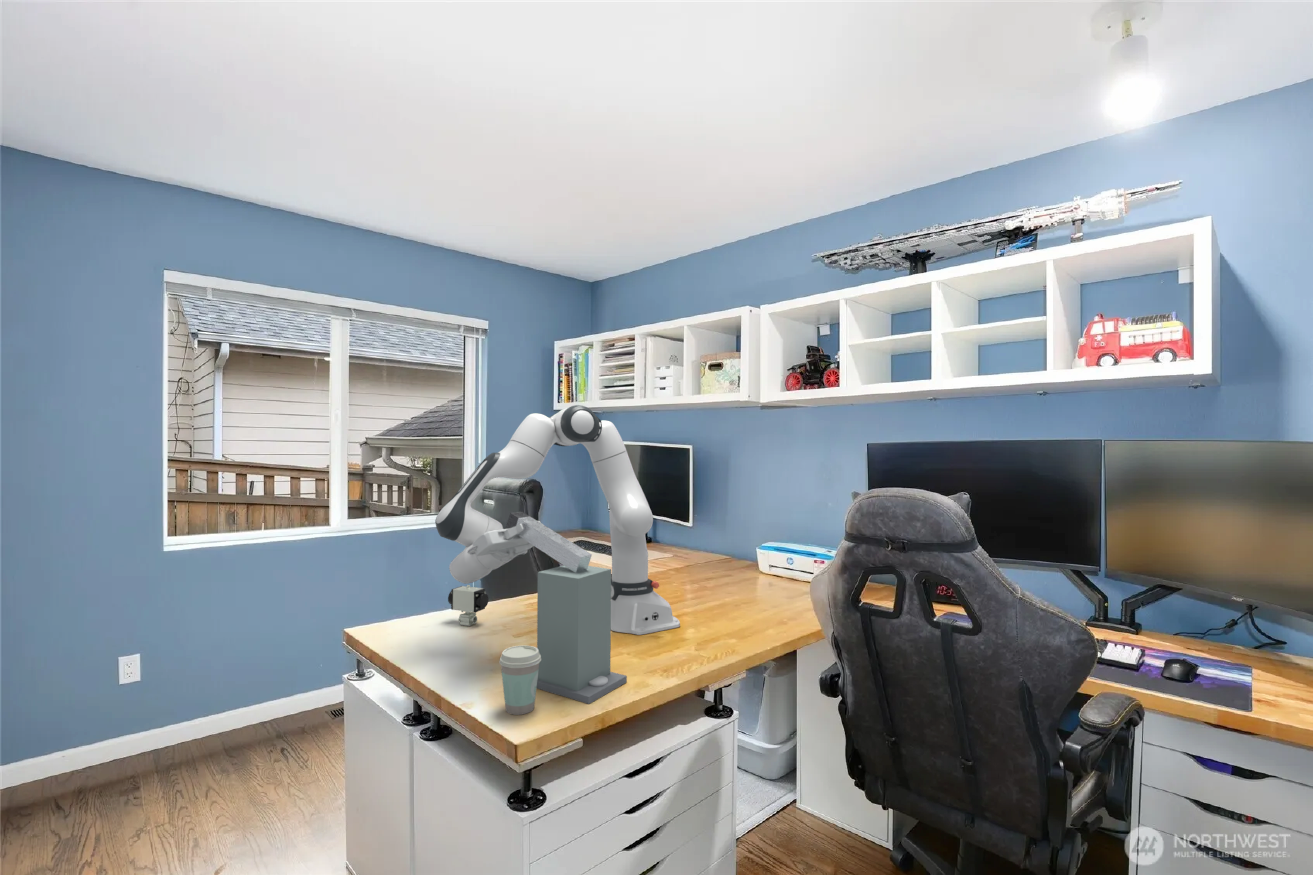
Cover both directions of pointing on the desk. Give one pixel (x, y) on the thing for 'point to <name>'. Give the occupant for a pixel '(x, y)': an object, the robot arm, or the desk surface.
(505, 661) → the coffee cup
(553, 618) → the press column
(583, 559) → the lever bar
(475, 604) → the pneumatic valve
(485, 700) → the desk surface
